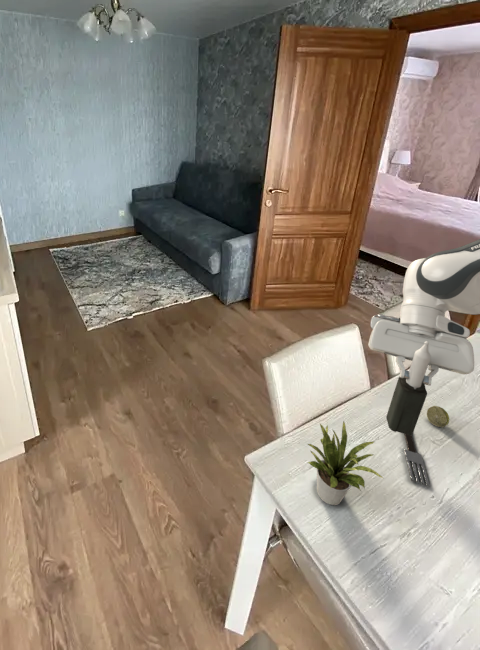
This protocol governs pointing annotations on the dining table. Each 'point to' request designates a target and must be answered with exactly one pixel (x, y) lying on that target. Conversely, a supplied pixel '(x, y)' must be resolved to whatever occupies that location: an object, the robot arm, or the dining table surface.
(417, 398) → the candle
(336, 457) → the house plant
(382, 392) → the dining table surface
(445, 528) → the dining table surface
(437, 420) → the lime
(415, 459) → the fork
